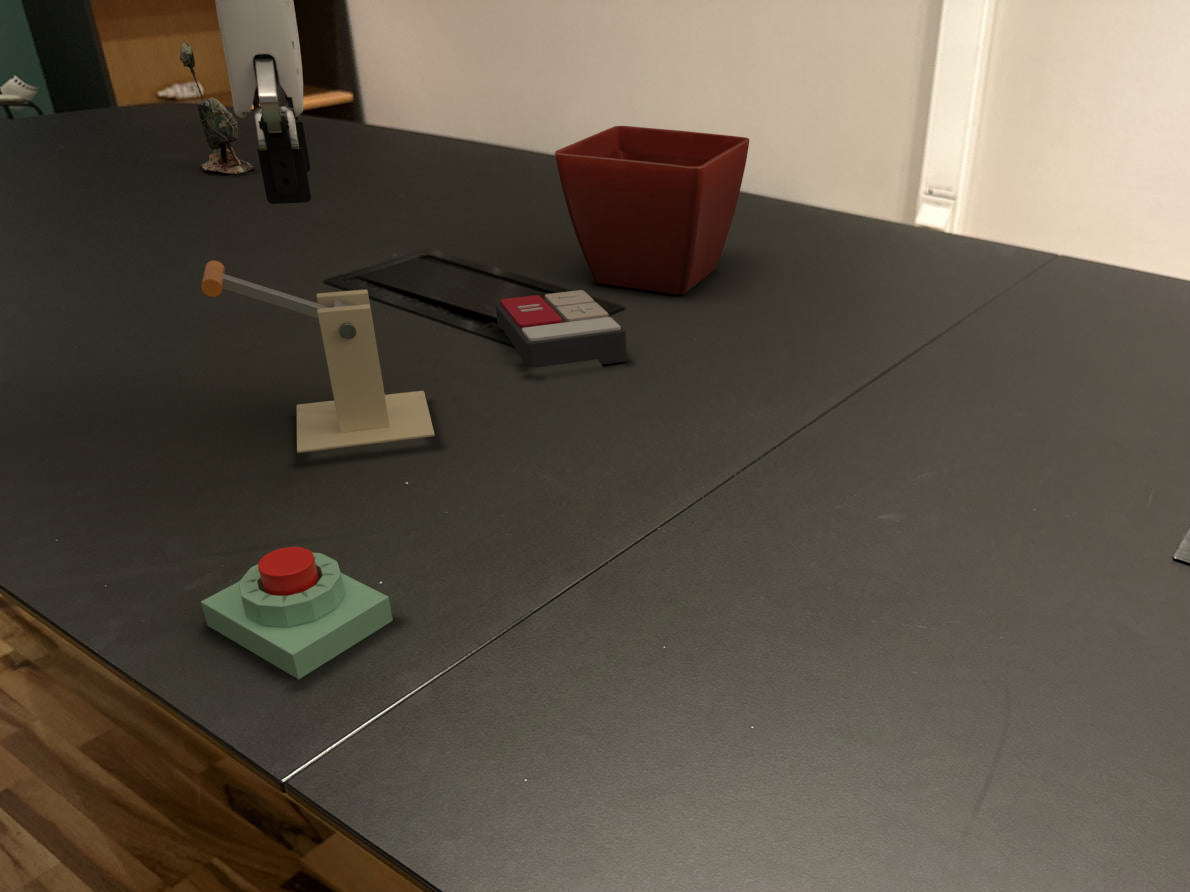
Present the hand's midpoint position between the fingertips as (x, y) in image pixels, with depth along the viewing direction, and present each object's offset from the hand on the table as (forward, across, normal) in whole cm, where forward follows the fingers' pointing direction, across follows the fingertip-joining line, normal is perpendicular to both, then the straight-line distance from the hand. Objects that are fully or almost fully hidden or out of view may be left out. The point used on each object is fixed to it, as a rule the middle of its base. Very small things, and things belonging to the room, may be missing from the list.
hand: (290, 186), depth 85 cm
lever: (+11, -2, -3) cm, 12 cm away
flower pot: (+23, -38, +42) cm, 61 cm away
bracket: (+23, -2, +3) cm, 23 cm away
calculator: (+23, -18, +25) cm, 38 cm away
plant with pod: (+24, -110, -15) cm, 113 cm away
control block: (+23, +28, -3) cm, 37 cm away
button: (+20, +28, -3) cm, 35 cm away
